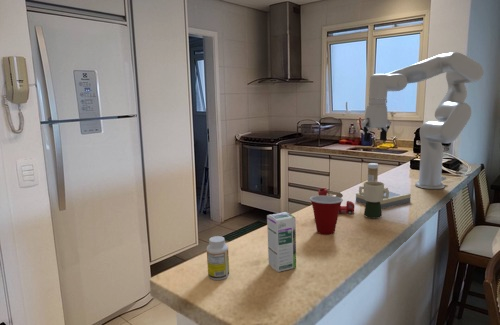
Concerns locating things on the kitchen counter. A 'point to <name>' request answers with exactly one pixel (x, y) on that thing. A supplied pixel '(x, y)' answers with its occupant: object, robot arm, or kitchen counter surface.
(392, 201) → the tray
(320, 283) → the kitchen counter surface
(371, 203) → the character mug
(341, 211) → the toy fire truck
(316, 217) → the plastic cup
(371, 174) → the sprinkles bottle
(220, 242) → the supplement bottle
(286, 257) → the syrup box
